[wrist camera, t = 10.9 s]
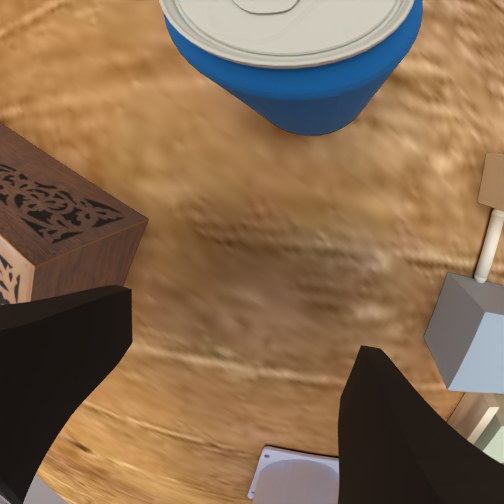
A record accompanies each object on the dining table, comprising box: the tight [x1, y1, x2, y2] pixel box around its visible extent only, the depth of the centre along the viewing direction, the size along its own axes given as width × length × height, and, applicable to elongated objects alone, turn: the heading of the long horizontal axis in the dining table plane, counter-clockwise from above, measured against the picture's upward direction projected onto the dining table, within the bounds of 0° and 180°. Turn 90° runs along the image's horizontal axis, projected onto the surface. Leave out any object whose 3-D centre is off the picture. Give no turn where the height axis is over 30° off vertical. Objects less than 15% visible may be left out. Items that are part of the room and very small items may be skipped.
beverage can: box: [159, 0, 423, 136], centre depth 10 cm, size 6×6×12 cm
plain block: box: [473, 394, 504, 463], centre depth 17 cm, size 4×4×4 cm
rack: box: [447, 392, 504, 465], centre depth 18 cm, size 8×17×4 cm, turn 81°
